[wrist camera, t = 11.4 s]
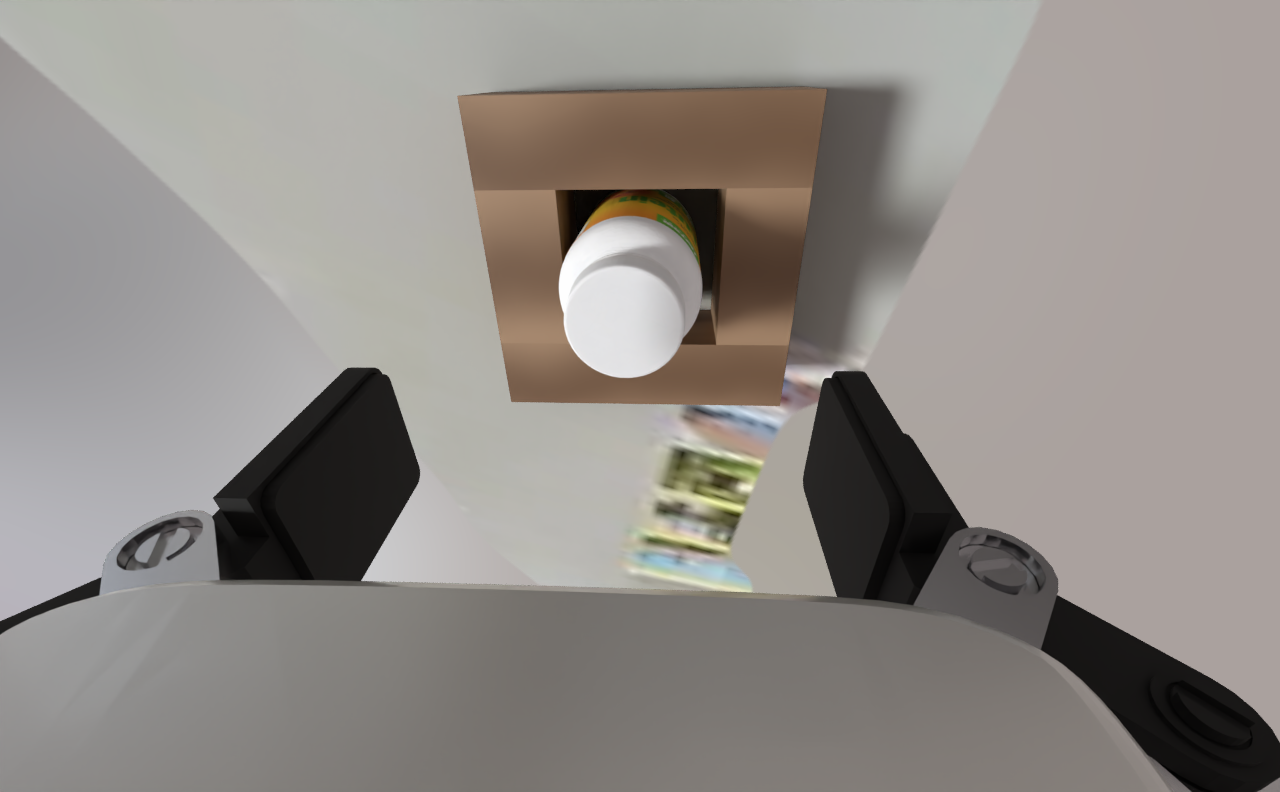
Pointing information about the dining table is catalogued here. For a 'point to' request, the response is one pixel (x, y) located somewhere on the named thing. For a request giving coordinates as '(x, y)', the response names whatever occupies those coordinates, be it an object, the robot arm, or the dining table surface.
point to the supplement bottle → (631, 283)
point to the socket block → (647, 159)
